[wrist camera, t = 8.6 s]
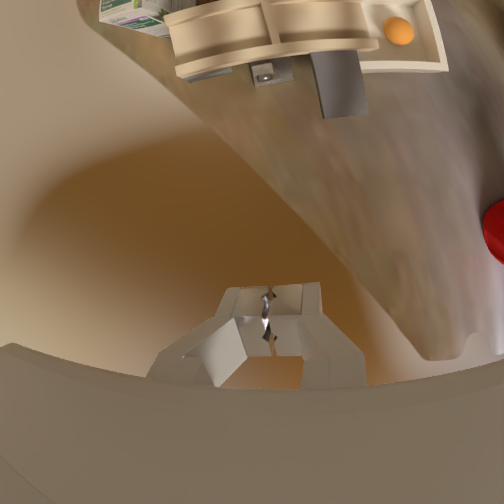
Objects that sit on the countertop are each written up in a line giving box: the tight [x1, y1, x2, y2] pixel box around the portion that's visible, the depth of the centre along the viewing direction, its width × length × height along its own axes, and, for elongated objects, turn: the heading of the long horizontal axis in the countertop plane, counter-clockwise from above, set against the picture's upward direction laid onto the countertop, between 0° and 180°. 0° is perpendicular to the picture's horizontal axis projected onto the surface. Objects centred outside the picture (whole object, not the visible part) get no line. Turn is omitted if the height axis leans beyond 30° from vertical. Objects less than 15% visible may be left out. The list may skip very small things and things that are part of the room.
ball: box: [383, 17, 414, 45], centre depth 23 cm, size 4×4×4 cm
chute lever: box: [163, 0, 379, 119], centre depth 25 cm, size 20×14×8 cm
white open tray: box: [357, 0, 449, 73], centre depth 24 cm, size 11×14×5 cm
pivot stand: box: [250, 56, 294, 87], centre depth 26 cm, size 12×5×10 cm, turn 13°
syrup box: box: [99, 0, 197, 38], centre depth 23 cm, size 6×6×14 cm
